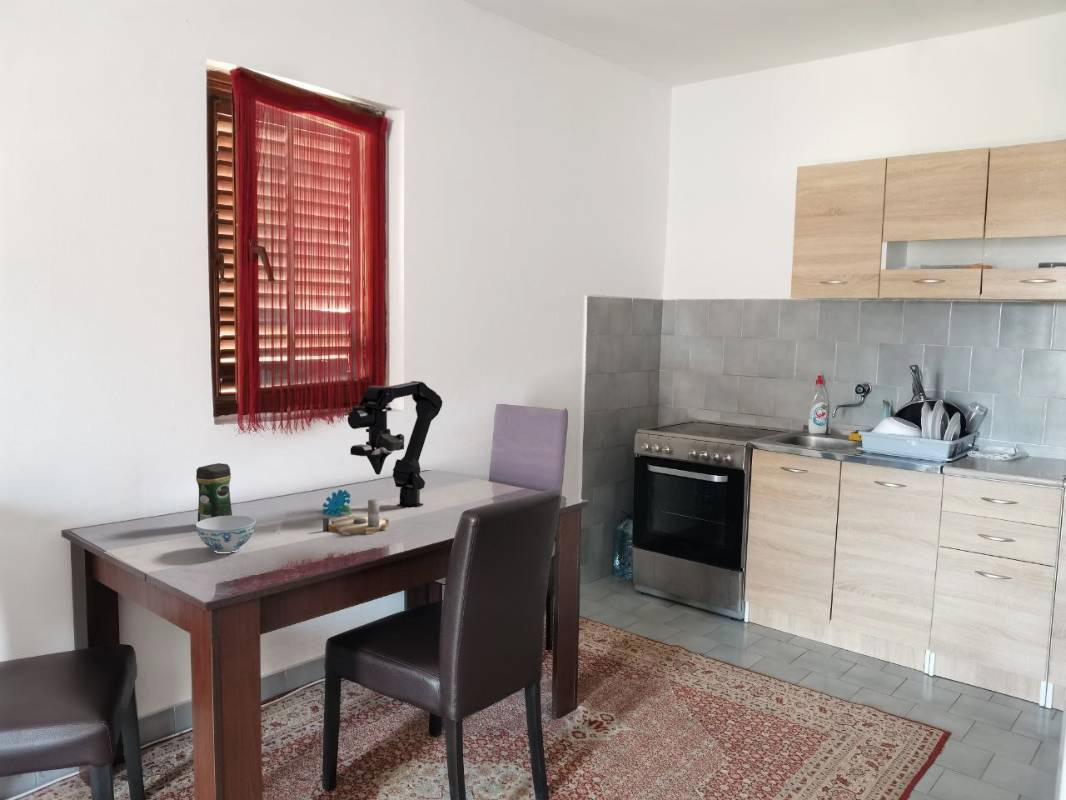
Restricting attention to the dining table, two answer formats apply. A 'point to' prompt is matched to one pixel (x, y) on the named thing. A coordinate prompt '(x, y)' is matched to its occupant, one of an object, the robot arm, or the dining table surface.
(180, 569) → the dining table surface
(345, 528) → the turntable
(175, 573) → the dining table surface
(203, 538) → the chinaware
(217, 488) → the coffee jar
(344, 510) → the gear
